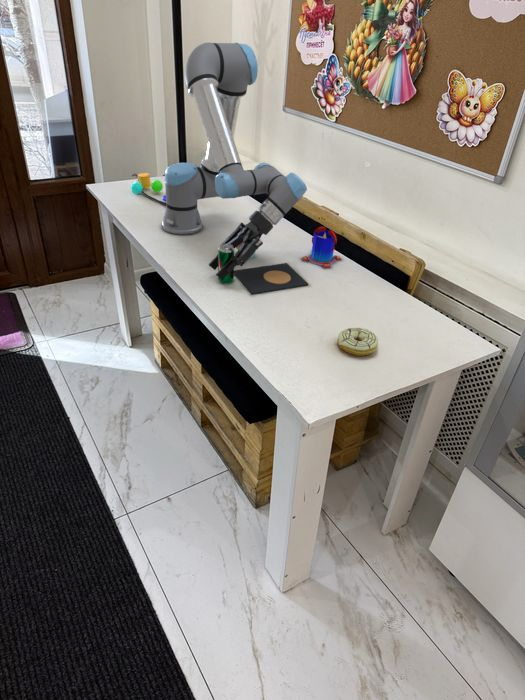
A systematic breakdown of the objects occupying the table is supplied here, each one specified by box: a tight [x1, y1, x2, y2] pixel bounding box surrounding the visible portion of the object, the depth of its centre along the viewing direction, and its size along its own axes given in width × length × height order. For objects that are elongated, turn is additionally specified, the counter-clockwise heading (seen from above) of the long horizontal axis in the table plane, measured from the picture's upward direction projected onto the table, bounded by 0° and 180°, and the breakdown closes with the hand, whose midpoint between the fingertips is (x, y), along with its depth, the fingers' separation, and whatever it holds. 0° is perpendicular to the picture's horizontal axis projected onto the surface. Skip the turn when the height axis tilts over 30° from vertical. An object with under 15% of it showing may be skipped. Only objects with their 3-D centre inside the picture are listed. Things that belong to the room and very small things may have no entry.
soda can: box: [217, 243, 236, 285], centre depth 160 cm, size 5×5×12 cm
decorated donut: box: [337, 327, 379, 357], centre depth 137 cm, size 10×11×4 cm
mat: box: [234, 262, 309, 296], centre depth 166 cm, size 16×20×1 cm
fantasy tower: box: [301, 226, 342, 269], centre depth 178 cm, size 12×12×12 cm
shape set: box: [130, 172, 166, 203], centre depth 223 cm, size 29×35×7 cm
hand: (215, 272), depth 160 cm, fingers open, 6 cm apart
